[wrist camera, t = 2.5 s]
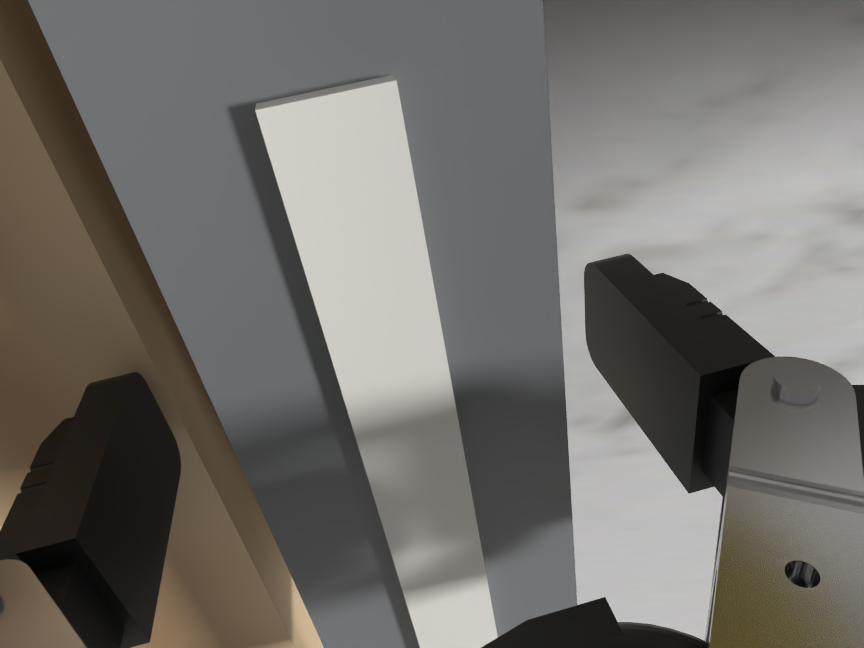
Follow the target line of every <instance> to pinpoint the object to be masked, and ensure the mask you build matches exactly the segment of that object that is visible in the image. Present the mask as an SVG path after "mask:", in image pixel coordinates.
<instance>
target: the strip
mask: <svg viewBox="0 0 864 648" xmlns="http://www.w3.org/2000/svg"><path fill="white" fill-rule="evenodd" d="M28 2H29V4H30V6H31V8H32V10H33V13H34V15H35V17H36V19H37V21H38V23H39V26H40V28H41V30H42V32H43V34H44V37H45V39H46V41H47V43H48V45H49V48H50V50H51V52H52V54H53V56H54V58H55V61H56V63H57V65H58V67H59V69H60V72H61V74H62V76H63V78H64V80H65V82H66V85H67V87H68V89H69V91H70V93H71V96H72V98H73V100H74V102H75V104H76V107H77V109H78V111H79V113H80V115H81V117H82V120H83V122H84V124H85V126H86V128H87V131H88V133H89V135H90V137H91V139H92V142H93V144H94V146H95V148H96V150H97V152H98V155H99V157H100V159H101V161H102V163H103V166H104V168H105V170H106V172H107V174H108V176H109V179H110V181H111V183H112V185H113V187H114V190H115V192H116V194H117V196H118V198H119V201H120V203H121V205H122V207H123V209H124V211H125V214H126V216H127V218H128V220H129V222H130V225H131V227H132V229H133V231H134V233H135V236H136V238H137V240H138V242H139V244H140V246H141V249H142V251H143V253H144V255H145V257H146V260H147V262H148V264H149V266H150V268H151V270H152V273H153V275H154V277H155V279H156V281H157V284H158V286H159V288H160V290H161V292H162V295H163V297H164V299H165V301H166V303H167V305H168V308H169V310H170V312H171V314H172V316H173V319H174V321H175V323H176V325H177V327H178V330H179V332H180V334H181V336H182V338H183V340H184V343H185V345H186V347H187V349H188V351H189V354H190V356H191V358H192V360H193V362H194V364H195V367H196V369H197V371H198V373H199V375H200V378H201V380H202V382H203V384H204V386H205V389H206V391H207V393H208V395H209V397H210V399H211V402H212V404H213V406H214V408H215V410H216V413H217V415H218V417H219V419H220V421H221V424H222V426H223V428H224V430H225V432H226V434H227V437H228V439H229V441H230V443H231V445H232V448H233V450H234V452H235V454H236V456H237V458H238V461H239V463H240V465H241V467H242V469H243V472H244V474H245V476H246V478H247V480H248V483H249V485H250V487H251V489H252V491H253V493H254V496H255V498H256V500H257V502H258V504H259V507H260V509H261V511H262V513H263V515H264V517H265V520H266V522H267V524H268V526H269V528H270V531H271V533H272V535H273V537H274V539H275V542H276V544H277V546H278V548H279V550H280V552H281V555H282V557H283V559H284V561H285V563H286V566H287V568H288V570H289V572H290V574H291V577H292V579H293V581H294V583H295V585H296V587H297V590H298V592H299V594H300V596H301V598H302V601H303V603H304V605H305V607H306V609H307V611H308V614H309V616H310V618H311V620H312V622H313V625H314V627H315V629H316V631H317V633H318V636H319V638H320V640H321V642H322V644H323V646H324V648H481V647H483V646H485V645H486V644H488V643H490V642H491V641H493V640H495V639H496V638H498V637H500V636H501V635H503V634H504V633H506V632H508V631H509V630H511V629H513V628H514V627H516V626H518V625H519V624H521V623H523V622H524V621H526V620H529V619H532V618H536V617H539V616H543V615H546V614H549V613H553V612H556V611H560V610H563V609H566V608H570V607H573V606H577V596H576V578H575V560H574V542H573V525H572V507H571V489H570V471H569V454H568V436H567V418H566V400H565V382H564V365H563V347H562V329H561V311H560V294H559V276H558V258H557V240H556V223H555V205H554V187H553V169H552V152H551V134H550V116H549V98H548V80H547V63H546V45H545V27H544V9H543V0H28Z"/></svg>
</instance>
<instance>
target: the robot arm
mask: <svg viewBox="0 0 864 648" xmlns="http://www.w3.org/2000/svg"><path fill="white" fill-rule="evenodd" d="M584 290H585V328H586V341H587V346H588V350H589V353H590V356H591V358H592V360H593V362H594V364H595V366H596V368H597V369H598V370H599V372H600V373H601V374H602V376H603V377H604V379H605V380H606V381H607V383H608V384H609V385H610V387H611V388H612V389H613V391H614V392H615V394H616V395H617V396H618V398H619V399H620V400H621V402H622V403H623V404H624V406H625V407H626V408H627V410H628V411H629V413H630V414H631V415H632V417H633V418H634V419H635V421H636V422H637V423H638V425H639V426H640V428H641V429H642V430H643V432H644V433H645V434H646V436H647V437H648V438H649V440H650V441H651V443H652V444H653V445H654V447H655V448H656V449H657V451H658V452H659V453H660V455H661V456H662V457H663V459H664V460H665V462H666V463H667V464H668V466H669V467H670V468H671V470H672V471H673V472H674V474H675V475H676V477H677V478H678V479H679V481H680V482H681V483H682V485H683V486H684V487H685V489H686V490H687V492H688V493H692V492H696V491H700V490H703V489H707V488H710V487H714V486H715V487H716V489H717V490H718V491H719V493H720V494H721V495H722V496H723V499H722V506H721V514H720V522H719V530H718V538H717V547H716V555H715V563H714V571H713V579H712V587H711V596H710V604H709V612H708V619H707V627H706V634H705V641H703V640H701V639H699V638H697V637H694V636H692V635H689V634H686V633H683V632H680V631H677V630H674V629H670V628H665V627H661V626H656V625H651V624H642V623H632V622H617V620H616V618H615V616H614V614H613V612H612V610H611V608H610V606H609V604H608V602H607V600H606V598H605V597H604V598H601V599H597V600H594V601H590V602H587V603H584V604H580V605H577V606H573V607H570V608H566V609H563V610H560V611H556V612H553V613H549V614H546V615H543V616H539V617H536V618H532V619H529V620H526V621H524V622H523V623H521V624H519V625H518V626H516V627H514V628H513V629H511V630H509V631H508V632H506V633H504V634H503V635H501V636H500V637H498V638H496V639H495V640H493V641H491V642H490V643H488V644H486V645H485V646H483V647H481V648H864V385H851V383H850V382H849V381H848V380H847V379H846V378H845V377H844V376H843V375H841V374H840V373H839V372H837V371H835V370H834V369H832V368H830V367H828V366H826V365H824V364H821V363H818V362H815V361H812V360H808V359H803V358H797V357H775V356H774V355H773V354H771V353H770V352H769V351H768V350H767V349H766V348H764V347H763V346H762V345H761V344H760V343H758V342H757V341H756V340H755V339H754V338H753V337H751V336H750V335H749V334H748V333H747V332H746V331H744V330H743V329H742V328H741V327H740V326H738V325H737V324H736V323H735V322H734V321H733V320H731V319H730V318H729V317H728V316H727V315H723V314H722V311H721V310H720V309H718V308H717V307H716V306H715V305H714V304H713V303H711V302H708V301H707V298H705V297H704V296H703V295H702V294H701V293H700V292H698V291H697V290H696V289H695V288H694V287H693V286H691V285H690V284H689V283H686V282H684V281H682V280H679V279H677V278H674V277H672V276H669V275H667V274H664V273H660V274H656V275H653V274H652V273H651V272H650V271H648V270H647V269H646V268H645V267H644V266H643V265H642V264H641V263H640V262H639V261H637V260H636V259H635V258H634V257H633V256H632V255H630V254H624V255H620V256H616V257H612V258H608V259H604V260H599V261H595V262H591V263H588V264H587V265H586V267H585V272H584ZM180 474H181V458H180V452H179V448H178V445H177V442H176V439H175V437H174V435H173V433H172V431H171V429H170V427H169V425H168V423H167V421H166V419H165V417H164V415H163V413H162V411H161V409H160V407H159V406H158V404H157V402H156V400H155V398H154V396H153V394H152V392H151V390H150V388H149V386H148V384H147V382H146V381H145V379H144V378H143V376H142V375H141V374H139V373H137V372H133V373H128V374H124V375H120V376H116V377H112V378H108V379H104V380H100V381H95V382H91V383H89V384H88V385H87V387H86V389H85V392H84V394H83V396H82V399H81V401H80V403H79V406H78V408H77V410H76V413H75V415H74V417H71V418H67V419H63V421H62V422H61V423H60V424H59V425H58V426H57V427H56V428H55V429H54V430H53V431H52V432H51V433H50V434H49V435H48V437H47V438H46V439H45V440H44V441H43V442H42V443H41V445H40V447H39V449H38V451H37V453H36V455H35V457H34V460H33V462H32V464H31V466H30V472H29V473H27V475H26V477H25V479H24V481H23V483H22V485H21V487H20V489H21V493H18V494H17V496H16V498H15V500H14V502H13V504H12V507H11V509H10V511H9V513H8V515H7V517H6V519H5V522H4V524H3V526H2V528H1V530H0V648H131V647H135V646H138V645H142V644H146V643H149V642H150V639H151V634H152V628H153V623H154V617H155V612H156V606H157V601H158V595H159V590H160V584H161V579H162V573H163V568H164V562H165V557H166V551H167V546H168V540H169V535H170V529H171V524H172V518H173V513H174V507H175V502H176V496H177V491H178V485H179V480H180Z"/></svg>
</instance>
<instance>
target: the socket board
mask: <svg viewBox="0 0 864 648" xmlns="http://www.w3.org/2000/svg"><path fill="white" fill-rule="evenodd" d="M133 372H137V373H139V374H141V375H142V376H143V378H144V379H145V381H146V382H147V384H148V386H149V388H150V390H151V392H152V394H153V396H154V398H155V400H156V402H157V404H158V406H159V407H160V409H161V411H162V413H163V415H164V417H165V419H166V421H167V423H168V425H169V427H170V429H171V431H172V433H173V435H174V437H175V439H176V442H177V445H178V448H179V452H180V458H181V474H180V480H179V485H178V491H177V496H176V502H175V507H174V513H173V518H172V524H171V529H170V535H169V540H168V546H167V551H166V557H165V562H164V568H163V573H162V579H161V584H160V590H159V595H158V601H157V606H156V612H155V617H154V623H153V628H152V634H151V639H150V642H149V643H146V644H142V645H138V646H135V647H131V648H321V640H320V638H319V636H318V633H317V631H316V629H315V627H314V625H313V622H312V620H311V618H310V616H309V614H308V611H307V609H306V607H305V605H304V603H303V601H302V598H301V596H300V594H299V592H298V590H297V587H296V585H295V583H294V581H293V579H292V577H291V574H290V572H289V570H288V568H287V566H286V563H285V561H284V559H283V557H282V555H281V552H280V550H279V548H278V546H277V544H276V542H275V539H274V537H273V535H272V533H271V531H270V528H269V526H268V524H267V522H266V520H265V517H264V515H263V513H262V511H261V509H260V507H259V504H258V502H257V500H256V498H255V496H254V493H253V491H252V489H251V487H250V485H249V483H248V480H247V478H246V476H245V474H244V472H243V469H242V467H241V465H240V463H239V461H238V458H237V456H236V454H235V452H234V450H233V448H232V445H231V443H230V441H229V439H228V437H227V434H226V432H225V430H224V428H223V426H222V424H221V421H220V419H219V417H218V415H217V413H216V410H215V408H214V406H213V404H212V402H211V399H210V397H209V395H208V393H207V391H206V389H205V386H204V384H203V382H202V380H201V378H200V375H199V373H198V371H197V369H196V367H195V364H194V362H193V360H192V358H191V356H190V354H189V351H188V349H187V347H186V345H185V343H184V340H183V338H182V336H181V334H180V332H179V330H178V327H177V325H176V323H175V321H174V319H173V316H172V314H171V312H170V310H169V308H168V305H167V303H166V301H165V299H164V297H163V295H162V292H161V290H160V288H159V286H158V284H157V281H156V279H155V277H154V275H153V273H152V270H151V268H150V266H149V264H148V262H147V260H146V257H145V255H144V253H143V251H142V249H141V246H140V244H139V242H138V240H137V238H136V236H135V233H134V231H133V229H132V227H131V225H130V222H129V220H128V218H127V216H126V214H125V211H124V209H123V207H122V205H121V203H120V201H119V198H118V196H117V194H116V192H115V190H114V187H113V185H112V183H111V181H110V179H109V176H108V174H107V172H106V170H105V168H104V166H103V163H102V161H101V159H100V157H99V155H98V152H97V150H96V148H95V146H94V144H93V142H92V139H91V137H90V135H89V133H88V131H87V128H86V126H85V124H84V122H83V120H82V117H81V115H80V113H79V111H78V109H77V107H76V104H75V102H74V100H73V98H72V96H71V93H70V91H69V89H68V87H67V85H66V82H65V80H64V78H63V76H62V74H61V72H60V69H59V67H58V65H57V63H56V61H55V58H54V56H53V54H52V52H51V50H50V48H49V45H48V43H47V41H46V39H45V37H44V34H43V32H42V30H41V28H40V26H39V23H38V21H37V19H36V17H35V15H34V13H33V10H32V8H31V6H30V4H29V2H28V0H0V530H1V528H2V526H3V524H4V522H5V519H6V517H7V515H8V513H9V511H10V509H11V507H12V504H13V502H14V500H15V498H16V496H17V494H18V493H21V489H20V487H21V485H22V483H23V481H24V479H25V477H26V475H27V473H29V472H30V466H31V464H32V462H33V460H34V457H35V455H36V453H37V451H38V449H39V447H40V445H41V443H42V442H43V441H44V440H45V439H46V438H47V437H48V435H49V434H50V433H51V432H52V431H53V430H54V429H55V428H56V427H57V426H58V425H59V424H60V423H61V422H62V421H63V419H67V418H71V417H74V415H75V413H76V410H77V408H78V406H79V403H80V401H81V399H82V396H83V394H84V392H85V389H86V387H87V385H88V384H89V383H91V382H95V381H100V380H104V379H108V378H112V377H116V376H120V375H124V374H128V373H133Z"/></svg>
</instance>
